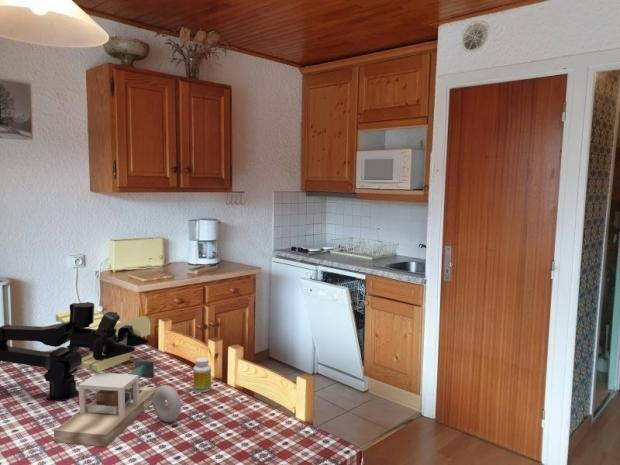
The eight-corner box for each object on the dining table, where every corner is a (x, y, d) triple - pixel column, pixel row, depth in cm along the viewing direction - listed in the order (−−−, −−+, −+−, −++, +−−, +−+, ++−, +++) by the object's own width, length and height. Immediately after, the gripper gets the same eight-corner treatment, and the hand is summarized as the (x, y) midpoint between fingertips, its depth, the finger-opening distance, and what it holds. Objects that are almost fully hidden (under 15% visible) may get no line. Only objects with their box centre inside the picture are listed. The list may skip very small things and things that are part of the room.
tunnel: (79, 413, 132) (78, 384, 132) (98, 399, 141) (97, 372, 140) (122, 416, 131) (122, 387, 130) (139, 402, 139) (138, 375, 139)
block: (96, 411, 134) (96, 393, 133) (106, 403, 139) (106, 386, 138) (113, 412, 133) (113, 394, 133) (123, 404, 138) (122, 387, 138)
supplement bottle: (206, 393, 153) (206, 363, 152) (190, 391, 154) (190, 361, 153) (213, 386, 158) (213, 357, 158) (198, 385, 160) (197, 356, 159)
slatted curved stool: (151, 361, 181) (150, 313, 179) (116, 376, 166) (115, 324, 165) (93, 348, 194) (92, 304, 192) (57, 361, 180) (55, 313, 178)
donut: (184, 423, 133) (183, 388, 133) (174, 428, 131) (173, 392, 130) (160, 413, 139) (159, 379, 138) (150, 418, 136) (149, 383, 135)
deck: (54, 441, 123) (53, 430, 123) (115, 394, 152) (115, 384, 152) (106, 446, 121) (106, 434, 121) (158, 397, 150) (158, 387, 150)
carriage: (88, 412, 132) (87, 391, 132) (133, 377, 157) (133, 359, 157) (116, 414, 131) (115, 393, 131) (157, 378, 156) (157, 361, 155)
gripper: (76, 318, 138) (129, 325, 136) (109, 306, 156) (156, 312, 155) (72, 357, 138) (125, 364, 137) (106, 341, 157) (153, 347, 155)
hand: (141, 345), depth 146 cm, fingers open, 9 cm apart
